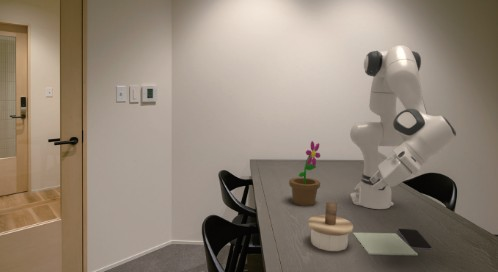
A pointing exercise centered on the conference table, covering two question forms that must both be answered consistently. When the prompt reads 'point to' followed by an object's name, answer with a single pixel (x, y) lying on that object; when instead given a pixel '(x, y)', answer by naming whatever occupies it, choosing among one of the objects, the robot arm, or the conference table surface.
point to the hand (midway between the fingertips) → (372, 185)
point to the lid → (330, 222)
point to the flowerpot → (306, 181)
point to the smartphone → (414, 239)
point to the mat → (384, 244)
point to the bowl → (329, 241)
